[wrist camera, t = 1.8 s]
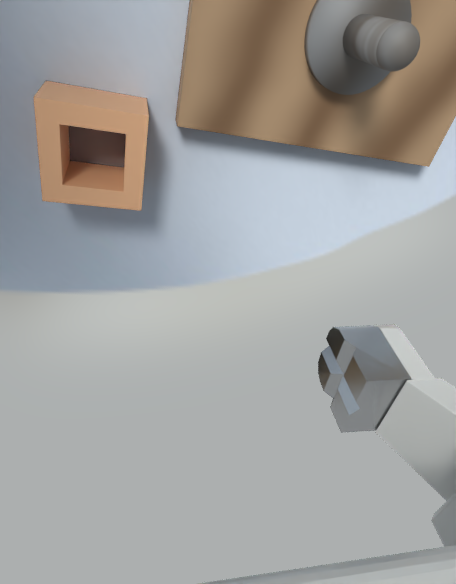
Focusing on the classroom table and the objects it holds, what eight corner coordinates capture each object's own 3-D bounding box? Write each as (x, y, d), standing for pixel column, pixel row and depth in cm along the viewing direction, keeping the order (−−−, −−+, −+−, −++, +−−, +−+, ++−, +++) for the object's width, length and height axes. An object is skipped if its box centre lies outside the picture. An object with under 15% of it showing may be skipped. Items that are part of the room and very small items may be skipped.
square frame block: (52, 175, 27) (42, 200, 24) (45, 80, 24) (33, 97, 21) (140, 185, 29) (141, 210, 26) (146, 98, 25) (148, 116, 22)
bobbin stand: (175, 119, 26) (188, 161, 21) (213, -195, 18) (251, -271, 12) (418, 159, 32) (481, 201, 26) (532, -67, 24) (662, -78, 18)
